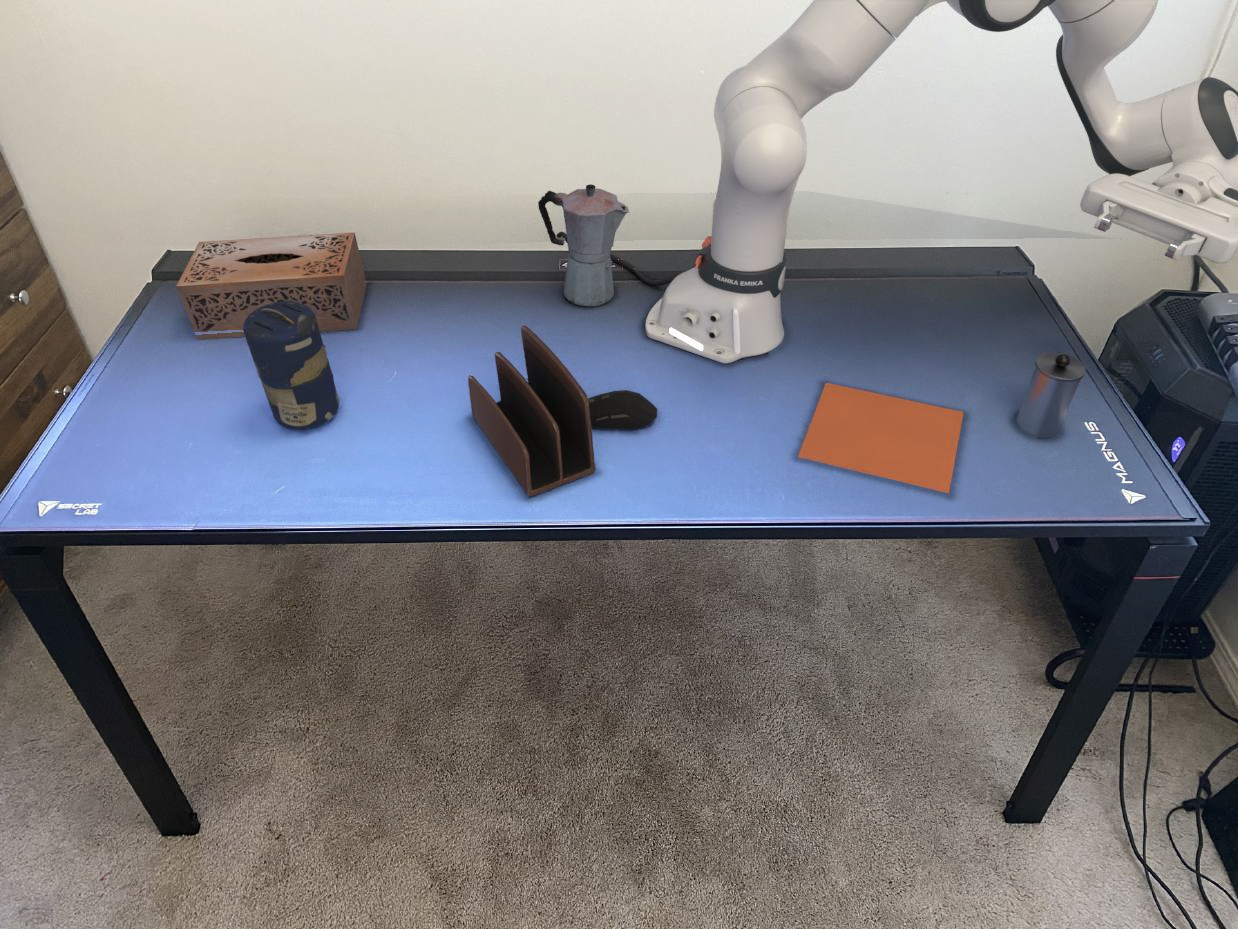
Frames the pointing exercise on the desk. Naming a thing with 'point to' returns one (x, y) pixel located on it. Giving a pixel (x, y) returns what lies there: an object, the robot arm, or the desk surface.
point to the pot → (1050, 394)
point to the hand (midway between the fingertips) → (1135, 238)
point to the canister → (292, 364)
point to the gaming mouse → (621, 411)
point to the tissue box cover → (273, 281)
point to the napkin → (884, 436)
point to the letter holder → (537, 419)
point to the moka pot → (587, 241)
